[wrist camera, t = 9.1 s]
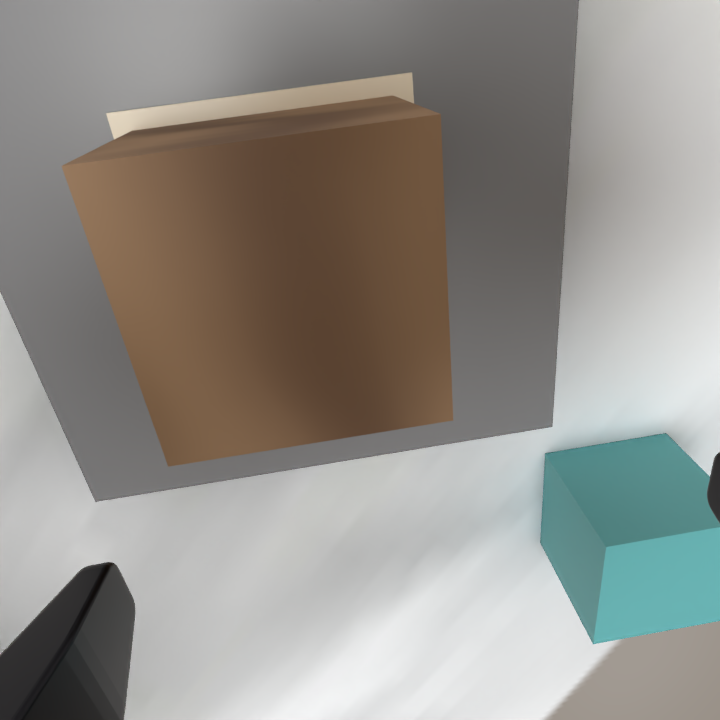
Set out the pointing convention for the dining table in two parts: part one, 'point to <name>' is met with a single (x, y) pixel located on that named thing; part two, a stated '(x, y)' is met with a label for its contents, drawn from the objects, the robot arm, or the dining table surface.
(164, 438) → the walnut block
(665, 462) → the teal block
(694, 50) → the dining table surface
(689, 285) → the dining table surface
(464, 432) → the base plate
